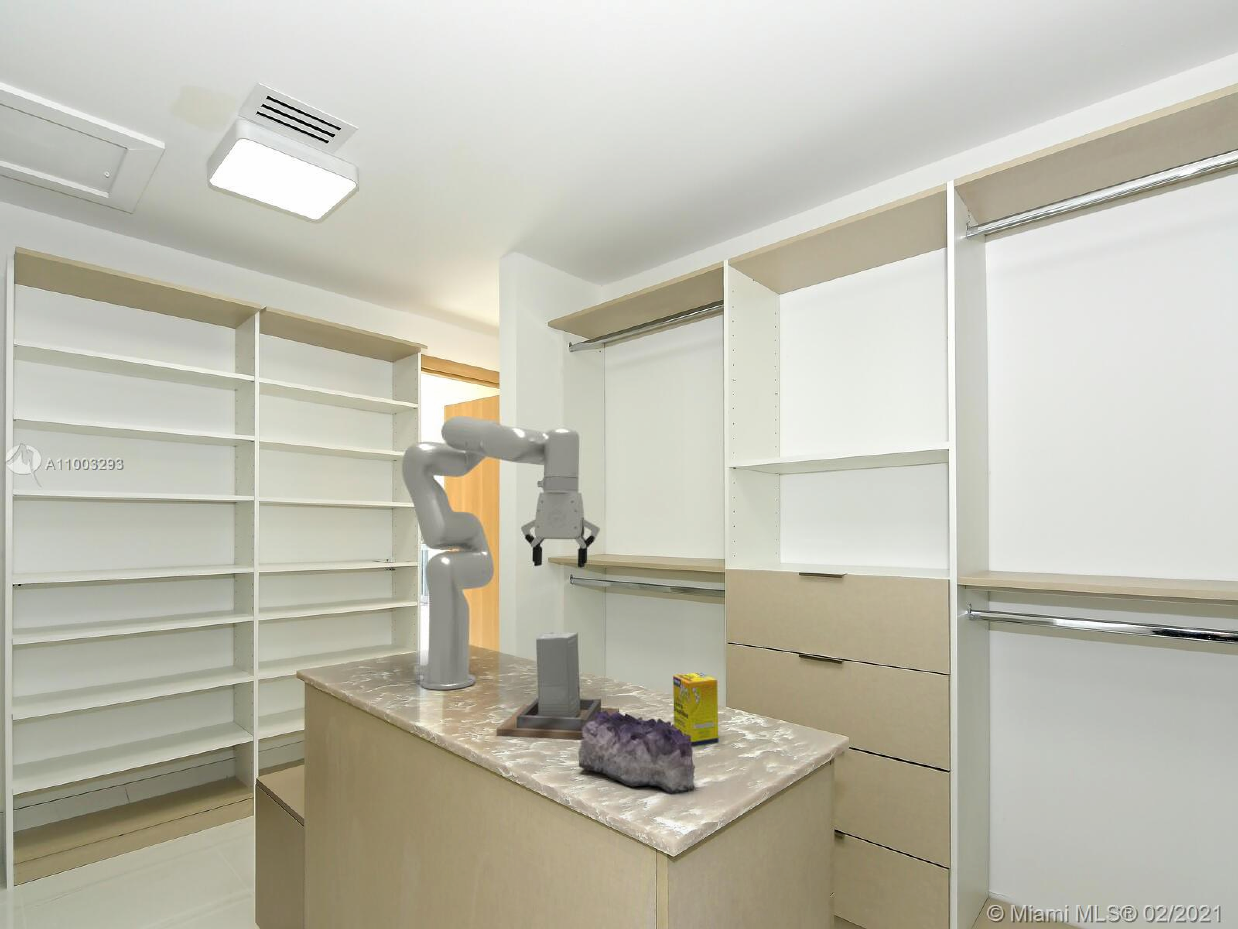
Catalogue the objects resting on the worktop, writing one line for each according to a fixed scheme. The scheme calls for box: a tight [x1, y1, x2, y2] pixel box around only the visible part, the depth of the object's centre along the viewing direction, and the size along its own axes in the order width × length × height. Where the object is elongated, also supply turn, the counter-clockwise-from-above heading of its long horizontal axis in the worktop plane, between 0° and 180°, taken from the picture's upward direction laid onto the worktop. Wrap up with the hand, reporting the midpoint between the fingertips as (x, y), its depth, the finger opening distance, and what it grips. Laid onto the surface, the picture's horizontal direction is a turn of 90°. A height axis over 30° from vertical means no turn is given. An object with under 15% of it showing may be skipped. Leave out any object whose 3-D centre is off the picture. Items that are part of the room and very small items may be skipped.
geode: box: [578, 711, 696, 795], centre depth 101 cm, size 20×12×10 cm, turn 53°
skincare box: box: [535, 631, 581, 718], centre depth 127 cm, size 8×7×16 cm
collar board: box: [496, 697, 620, 741], centre depth 126 cm, size 20×16×3 cm
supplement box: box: [672, 672, 719, 748], centre depth 117 cm, size 6×6×11 cm
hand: (559, 566), depth 140 cm, fingers open, 9 cm apart
